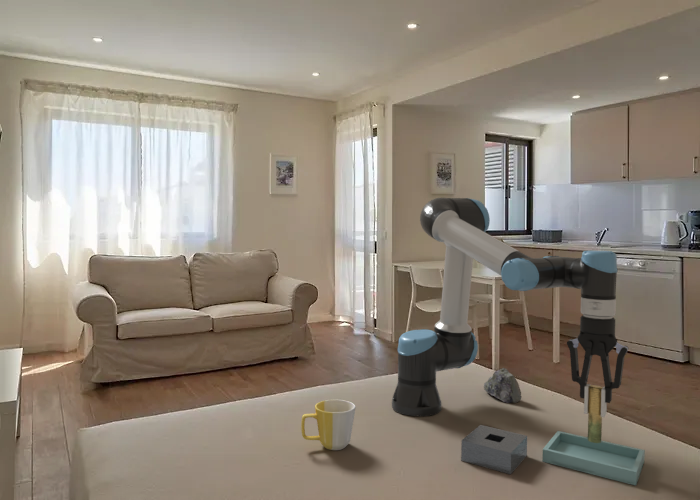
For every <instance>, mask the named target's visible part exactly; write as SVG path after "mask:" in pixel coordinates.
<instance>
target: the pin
mask: <svg viewBox="0 0 700 500" xmlns="http://www.w3.org/2000/svg"><path fill="white" fill-rule="evenodd" d="M603 387H604V386H601V385H598V384H590V386H589V407H588V414H587V417H588V418H587V437H588V441H590V442H593V443H601V440H602V438H603V437H602V434H603V433H602V431H603V429H602V428H603V426H602V425H603V417H601V389H602V388H603Z"/></svg>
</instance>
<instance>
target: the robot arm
mask: <svg viewBox="0 0 700 500" xmlns="http://www.w3.org/2000/svg"><path fill="white" fill-rule="evenodd" d="M419 222H420V226H421V228H422V230H423V231H424V232H425V234H426V235H428V236H429V237H430V238H432V239H434V240H435V241H437V242H440V243H443V244H444V246H445V256H444V268H443V279H442V280H443V281H442V291H441V304H440V313H439V314H440V315H439V318H440V319H439V320H438V321H437V322H436V323H435V324H434V329H433V330H431V329H424V328H423V329H412V330H408V331H406V332H404V333H402V334H401V335H400V336H399V338H398V344H397V345H398V346H397V384H396V387H395V390H394V392H393V395H392V399H391V408H392V409H393V410H394V411H395V412H396V413H399V414H402V415H404V416H405V415H406V416H411V417H412V416H413V417H429V416H434V415H437V414H439V413H441V411H442V400H441V396H440V393H439V390H438V386H437V372H442V371H449V370H452V369H461V368H463V367H466V366H469V365H470V364H472V363H473V361H475V359H476V357H477V355H478V349H479V344H478V341H477V340H476V335H475V334H474V333H473V332H472V330H473V329H472V327H471V325H470V324H469V323H468V321H469V318H468V317H469V311H470V310H469V307H470V298H471V296H470V295H471V286H472V274H473V262H474V260H475V261H477V262H478V263H480V264H482V265H483V266H484V267H486V268H488V269H490V270H491V271H493V272H494V273H496V274H498V276H501V280H502V282H503V284H504V285H505V287H506V288H507V289H509V290H511V291H520V292H526V291H531V290H540V289H552V288H553V289H554V288H573V289H579V290H580V294H581V295H580V313H581V314H582V315H581V316H580V318H579V320H580V321H579V322H580V325H579V327H580V329H579V334H578V336H577V337H576V338H574V339H572V338H571V339H569V340H567V341H566V345H567V347H568V350H569V355H570V357H569V358H570V371H571V372H570V373H571V381H572V382H575V383H576V384H579V397H580V399H584V400H583V401H584V403H583V414H586V415H588V407H589V386H590V385H591V383H588V382H589V379H588V378H589V374H590V370H591V365H592V360H593V359H592V358H593V356H598V357H599V358H600V361H601V369H602V374H603V375H602V376H603V382H604V383H603V384H604V386H602V387H603V388H602V389H601V417H602V418H605V417H606V415H607V409H608V408H607V406H608V404H610V403H611V402H612V400H613V398H612V397H613V389H619V388H620V386H621V385H622V379H623V371H624V364H625V356H626V354H627V352H628V351H629V347H628V346H627V345H623V344H621V343H619V342H618V339H617V338H616V319H615V316H616V309H617V278H618V276H617V275H618V262H617V253H615V252H614V251H612V250H611V251H610V250H594V249H593V250H583V251H582V253H581V257H569V256H568V257H567V256H559V255H546V256H543V257H531V256H528V255H527V254H525V253H523V252H521V251H520V250H518V249H516V248H515V247H512V246H511V245H509V244H507V243H505V242H503V241H502V240H499V239H497V238H496V237H495V236H492V235H491V234H489V233H487V231H488V229H489V226H490V213H489V210H488V208H487V207H486V206H485V204H484V203H483V202H481V201H480V200H479V199H478V200H477V199H474V198H470V197H469V198H468V197H462V198H461V197H437V198H436V197H435V198H433V199H431V200H429V201H428V202H426V203H425V205H424V206H423V207H422V209H421V212H420V216H419ZM579 344H580V346H581V347H582V349H583V350H584V357H583V358H584V359H583V363H582V364H583V365H582V368H581V375H580V368H579V364H580V363H579V352H578V347H580V346H579ZM614 348H616V349H615V352H616V354H617V356H616V357H617V358H616V362H615V370H614V371H615V372H614V379H613V378H612V373H611V365H610V355H609V354H610V352H611V351H612V350H613V349H614Z"/></svg>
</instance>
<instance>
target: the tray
mask: <svg viewBox="0 0 700 500" xmlns="http://www.w3.org/2000/svg"><path fill="white" fill-rule="evenodd" d="M645 452H646V451H645V449H641V448H637V447H634V446H629V445H624V444H620V443H614V442H611V441H605V440H602V439H601V443H593V442H590V441H588V436H583V435H580V434H579V435H578V434H574V433H570V432H565V431H559V430H557V431H556V432H555V434H553V436H552V437H551V438H550V440H549V441H548V442H547V443H546V445H545V446H544V447H543V448H542V457H541V459H542V462H543V463H547V464H549V465H554V466H558V467H562V468H566V469H568V470H569V469H570V470H573V471H574V470H575V471H578V472H583V473H585V474H589V475H593V476H597V477H601V478H605V479H609V480H612V481H617V482H620V483H625V484H628V485H632V486H637V484H638V482H639V478H640V476H641V473H642V470H643V467H644V465H643V464H644V463H645V457H646V455H645Z"/></svg>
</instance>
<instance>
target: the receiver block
mask: <svg viewBox="0 0 700 500" xmlns="http://www.w3.org/2000/svg"><path fill="white" fill-rule="evenodd" d="M460 451H461V452H460V453H461V455H460V460H461V461H462V462H465V463H469V464H471V465H476V466H479V467H483V468H486V469H490V470H494V471H497V472H500V473H504V474H508V475H512V474H513V473H514V471H515V470H516V469H517V468H518V466H520V465H521V463H522V462H523V461H524V460H525V458H527V456H528V435H525V434H521V433H516V432H513V431H510V430H509V431H508V430H504V429H500V428H495V427H490V426H487V425H483V424H480V425H478V426H477V427H476V428H475V429H474V430H472V431H470V433H468V434H467V435H466V436H465V437H464V438H462V439H461V450H460Z"/></svg>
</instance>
